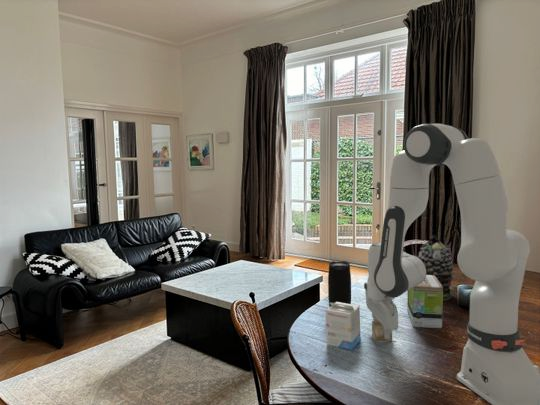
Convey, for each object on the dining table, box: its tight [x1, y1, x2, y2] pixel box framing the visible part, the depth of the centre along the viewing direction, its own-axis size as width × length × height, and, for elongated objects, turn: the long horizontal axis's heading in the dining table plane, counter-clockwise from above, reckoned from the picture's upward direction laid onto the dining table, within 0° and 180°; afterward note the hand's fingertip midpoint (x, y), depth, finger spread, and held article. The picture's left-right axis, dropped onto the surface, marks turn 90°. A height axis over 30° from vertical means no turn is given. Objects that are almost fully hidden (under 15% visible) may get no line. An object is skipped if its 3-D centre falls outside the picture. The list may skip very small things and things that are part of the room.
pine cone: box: [417, 234, 454, 301], centre depth 170 cm, size 21×15×25 cm
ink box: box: [325, 302, 361, 351], centre depth 130 cm, size 9×8×13 cm
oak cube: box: [371, 320, 393, 343], centre depth 133 cm, size 5×5×5 cm
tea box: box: [406, 275, 444, 329], centre depth 146 cm, size 15×10×15 cm
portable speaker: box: [327, 260, 352, 308], centre depth 154 cm, size 9×9×20 cm
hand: (381, 331), depth 133 cm, fingers open, 8 cm apart
